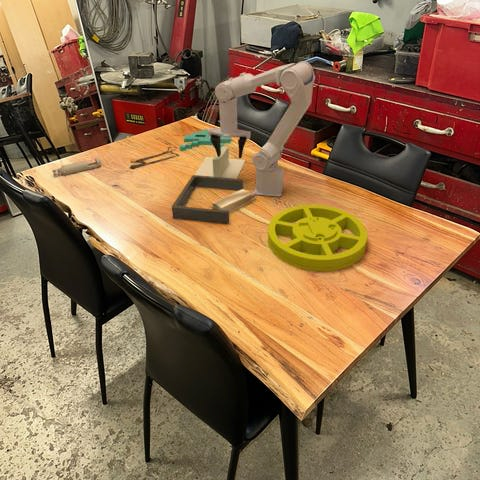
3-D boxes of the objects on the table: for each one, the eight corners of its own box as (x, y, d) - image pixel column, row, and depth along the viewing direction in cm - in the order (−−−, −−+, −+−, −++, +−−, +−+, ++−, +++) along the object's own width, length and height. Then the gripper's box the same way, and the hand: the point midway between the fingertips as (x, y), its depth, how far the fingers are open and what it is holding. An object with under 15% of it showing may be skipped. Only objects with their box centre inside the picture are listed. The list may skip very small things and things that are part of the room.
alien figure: (227, 153, 178) (233, 134, 194) (227, 147, 176) (233, 129, 193) (180, 151, 180) (189, 133, 196) (179, 146, 178) (188, 129, 195)
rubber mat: (245, 160, 170) (245, 159, 170) (234, 184, 154) (234, 183, 154) (206, 157, 173) (206, 156, 173) (191, 181, 157) (191, 179, 157)
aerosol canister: (100, 163, 171) (96, 148, 167) (103, 168, 168) (100, 152, 164) (52, 174, 164) (48, 158, 160) (55, 179, 160) (50, 163, 157)
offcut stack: (256, 201, 145) (256, 191, 143) (220, 219, 137) (220, 209, 134) (244, 195, 149) (244, 186, 147) (209, 212, 140) (208, 203, 138)
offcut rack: (243, 189, 151) (243, 179, 149) (228, 224, 133) (227, 212, 131) (193, 185, 155) (192, 174, 152) (172, 218, 137) (171, 207, 135)
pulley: (363, 220, 134) (366, 206, 131) (366, 278, 112) (369, 262, 109) (274, 212, 139) (275, 198, 136) (260, 265, 117) (260, 250, 114)
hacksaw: (131, 170, 166) (130, 167, 165) (120, 161, 173) (120, 158, 172) (186, 154, 177) (185, 151, 176) (174, 146, 184) (173, 143, 183)
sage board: (229, 163, 167) (228, 146, 163) (220, 177, 158) (219, 160, 154) (222, 163, 168) (222, 146, 164) (213, 177, 158) (212, 159, 154)
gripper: (204, 121, 142) (206, 159, 150) (247, 123, 139) (247, 162, 147) (209, 114, 147) (212, 151, 155) (251, 116, 145) (251, 154, 153)
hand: (229, 156), depth 152 cm, fingers open, 7 cm apart
